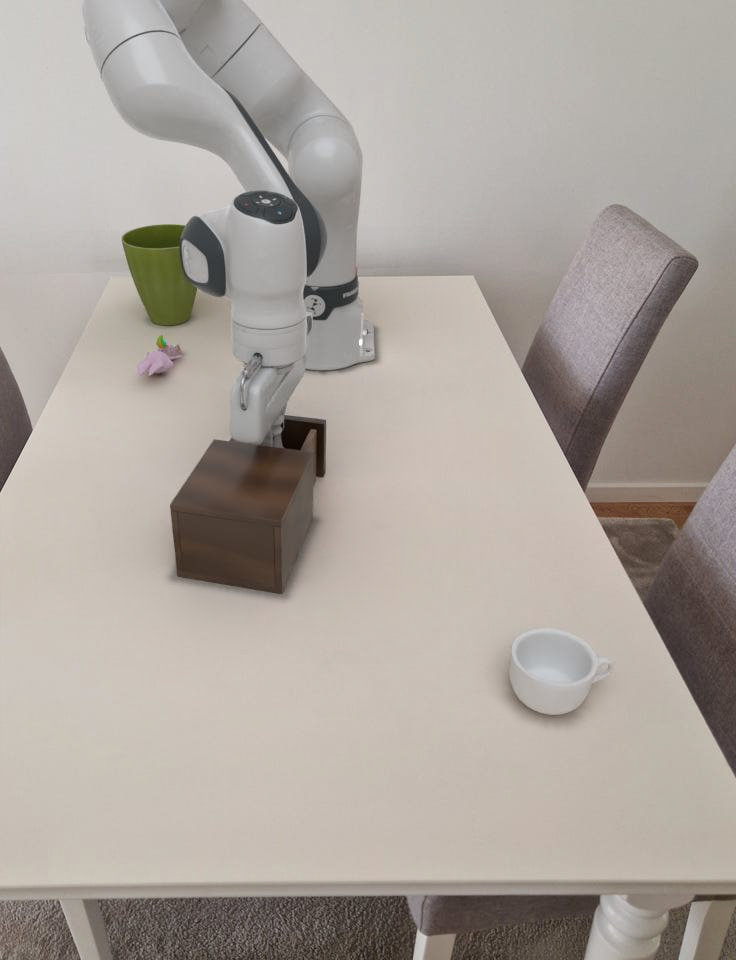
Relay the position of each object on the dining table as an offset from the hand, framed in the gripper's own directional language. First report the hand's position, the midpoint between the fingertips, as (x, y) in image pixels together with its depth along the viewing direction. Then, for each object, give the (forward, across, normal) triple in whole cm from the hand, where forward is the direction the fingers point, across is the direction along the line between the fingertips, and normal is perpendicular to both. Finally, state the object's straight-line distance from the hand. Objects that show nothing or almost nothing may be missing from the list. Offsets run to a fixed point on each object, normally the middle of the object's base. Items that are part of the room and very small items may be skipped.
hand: (271, 439), depth 107 cm
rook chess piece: (+4, 0, 0) cm, 4 cm away
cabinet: (+8, -12, 0) cm, 14 cm away
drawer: (+8, +1, 0) cm, 8 cm away
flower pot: (+9, +53, +37) cm, 65 cm away
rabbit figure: (+9, +31, +29) cm, 44 cm away
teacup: (+8, -26, -37) cm, 46 cm away
